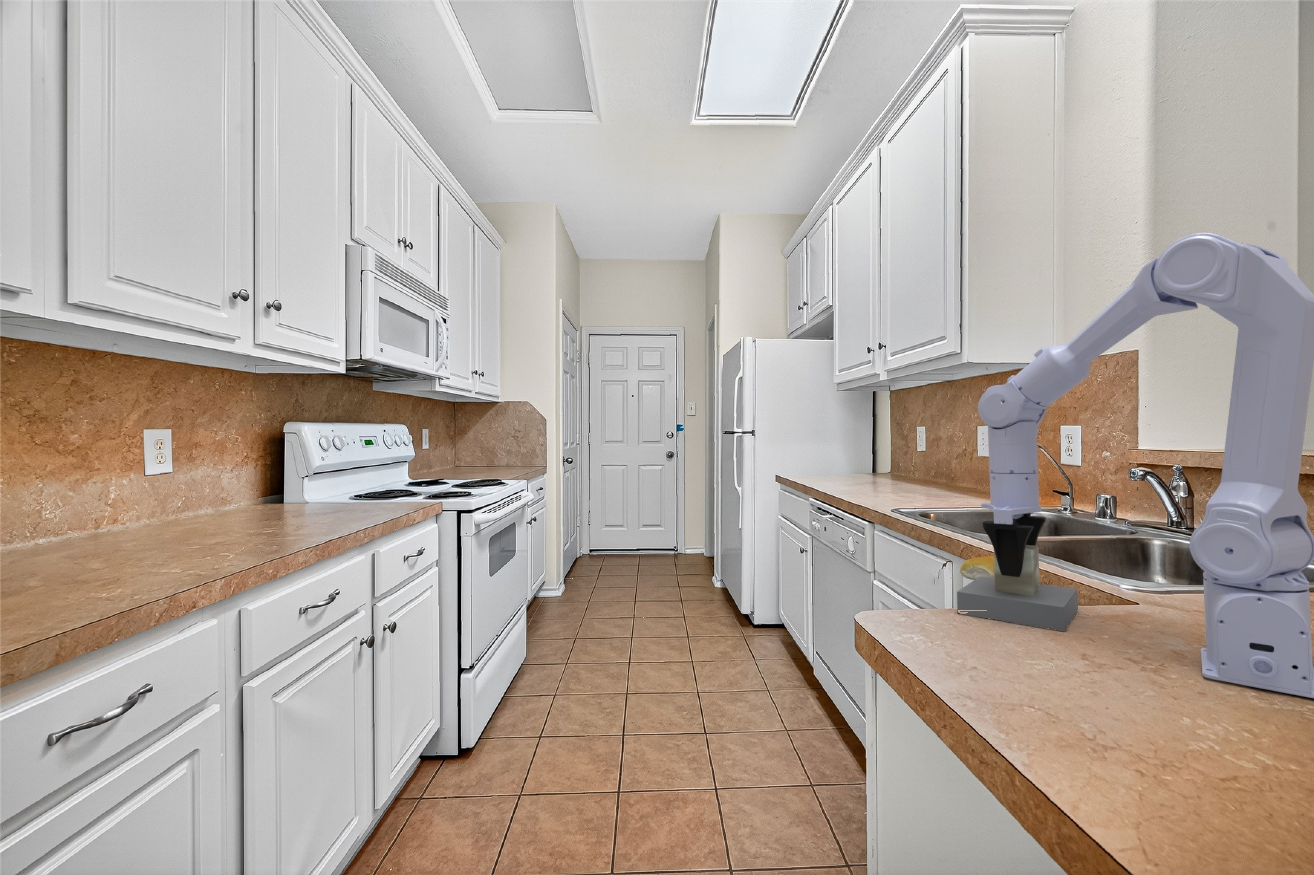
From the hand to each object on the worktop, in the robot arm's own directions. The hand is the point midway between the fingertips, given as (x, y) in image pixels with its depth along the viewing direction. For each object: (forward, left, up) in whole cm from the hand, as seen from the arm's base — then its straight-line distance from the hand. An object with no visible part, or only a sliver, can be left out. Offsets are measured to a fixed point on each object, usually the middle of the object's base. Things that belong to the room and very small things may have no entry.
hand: (1016, 571), depth 77 cm
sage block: (0, 0, -3) cm, 3 cm away
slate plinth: (0, 0, -6) cm, 6 cm away
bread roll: (+21, +8, -6) cm, 23 cm away
